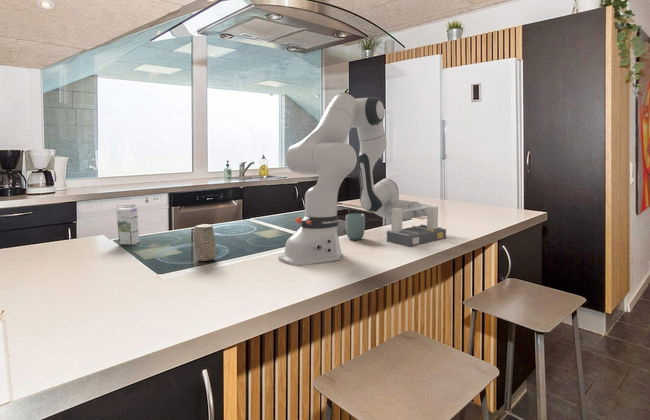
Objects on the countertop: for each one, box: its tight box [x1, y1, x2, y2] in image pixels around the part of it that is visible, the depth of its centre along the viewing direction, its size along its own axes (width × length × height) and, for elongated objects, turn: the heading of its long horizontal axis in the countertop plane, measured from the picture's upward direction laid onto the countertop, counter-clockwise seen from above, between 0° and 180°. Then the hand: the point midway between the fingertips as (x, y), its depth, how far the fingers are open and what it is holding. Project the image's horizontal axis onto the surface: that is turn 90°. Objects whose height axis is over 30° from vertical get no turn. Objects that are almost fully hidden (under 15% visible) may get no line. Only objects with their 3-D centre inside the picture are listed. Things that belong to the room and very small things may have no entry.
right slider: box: [426, 205, 439, 229], centre depth 174 cm, size 3×3×9 cm
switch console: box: [386, 224, 447, 248], centre depth 172 cm, size 22×12×4 cm, turn 128°
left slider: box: [390, 208, 403, 232], centre depth 169 cm, size 3×3×9 cm
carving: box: [193, 223, 217, 262], centre depth 144 cm, size 6×8×12 cm
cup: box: [345, 213, 366, 241], centre depth 175 cm, size 8×8×10 cm
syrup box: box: [115, 206, 140, 246], centre depth 170 cm, size 6×6×14 cm
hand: (429, 214), depth 175 cm, fingers closed
